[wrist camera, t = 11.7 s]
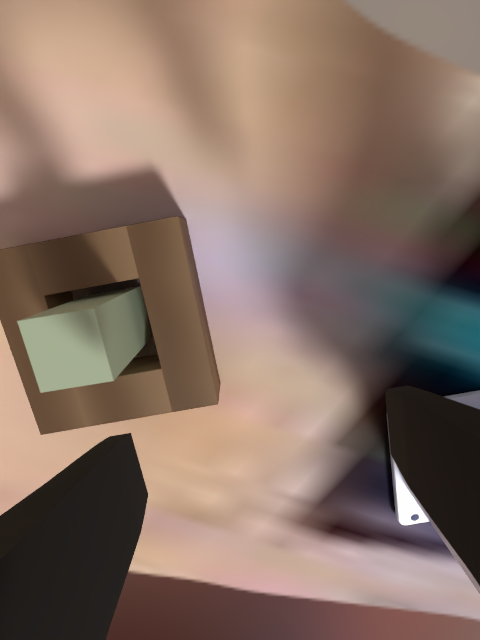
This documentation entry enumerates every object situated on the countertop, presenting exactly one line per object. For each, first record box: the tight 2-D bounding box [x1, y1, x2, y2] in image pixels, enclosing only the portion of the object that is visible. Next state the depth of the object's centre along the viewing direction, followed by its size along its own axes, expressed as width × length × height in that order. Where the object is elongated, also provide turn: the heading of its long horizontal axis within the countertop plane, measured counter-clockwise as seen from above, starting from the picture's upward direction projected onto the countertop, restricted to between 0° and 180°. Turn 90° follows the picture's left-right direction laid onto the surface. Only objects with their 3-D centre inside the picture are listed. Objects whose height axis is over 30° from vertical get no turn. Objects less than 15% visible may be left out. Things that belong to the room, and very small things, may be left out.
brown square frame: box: [0, 216, 220, 435], centre depth 17 cm, size 9×9×2 cm
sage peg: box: [17, 286, 152, 393], centre depth 15 cm, size 3×3×6 cm
